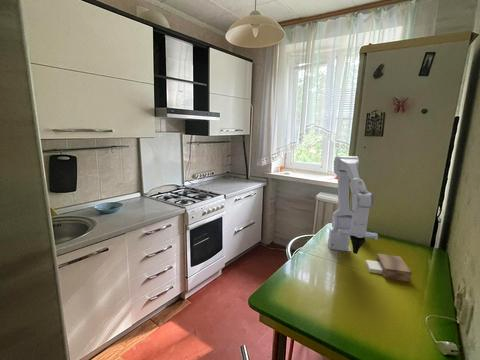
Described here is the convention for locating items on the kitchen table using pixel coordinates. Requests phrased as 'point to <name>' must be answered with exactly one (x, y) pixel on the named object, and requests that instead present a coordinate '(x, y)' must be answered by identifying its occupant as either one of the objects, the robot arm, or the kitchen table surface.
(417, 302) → the kitchen table surface
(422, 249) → the kitchen table surface
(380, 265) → the tile
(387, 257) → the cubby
